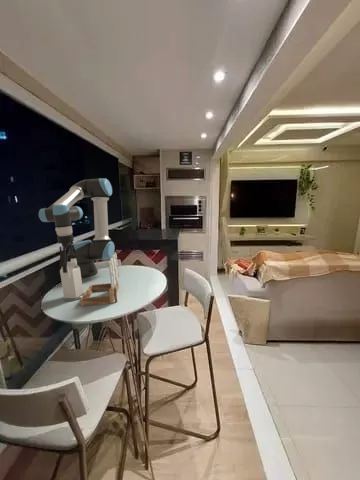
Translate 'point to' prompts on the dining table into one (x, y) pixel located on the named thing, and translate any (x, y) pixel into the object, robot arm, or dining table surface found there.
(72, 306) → the dining table surface
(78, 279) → the milk carton
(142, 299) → the dining table surface
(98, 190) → the robot arm
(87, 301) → the cold frame
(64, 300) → the disc
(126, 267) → the dining table surface
